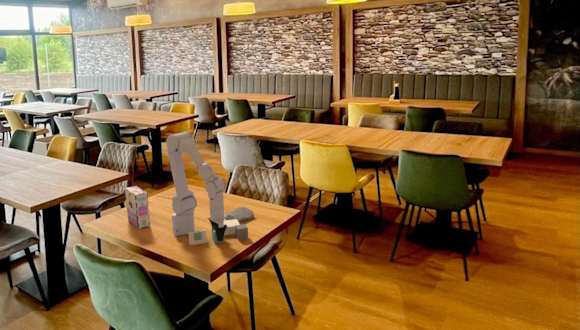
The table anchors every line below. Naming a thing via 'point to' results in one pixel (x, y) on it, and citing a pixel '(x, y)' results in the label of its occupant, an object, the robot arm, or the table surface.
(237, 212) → the stone block
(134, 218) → the candy box
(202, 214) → the table surface
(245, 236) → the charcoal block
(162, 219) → the table surface
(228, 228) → the cream base block
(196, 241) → the placard
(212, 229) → the teal block
